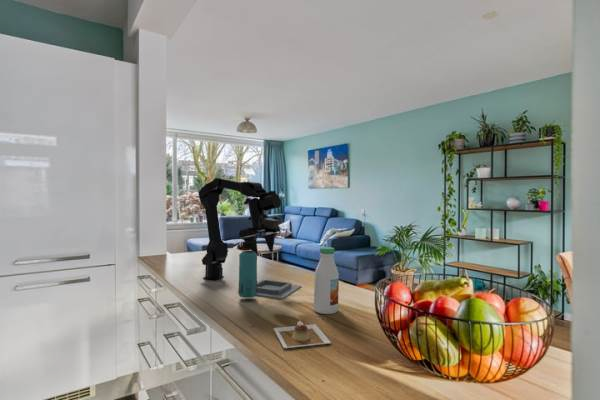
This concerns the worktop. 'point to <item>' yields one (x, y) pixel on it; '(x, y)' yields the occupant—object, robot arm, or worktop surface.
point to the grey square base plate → (275, 289)
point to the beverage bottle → (247, 271)
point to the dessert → (301, 334)
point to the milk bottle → (326, 283)
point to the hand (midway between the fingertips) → (264, 253)
